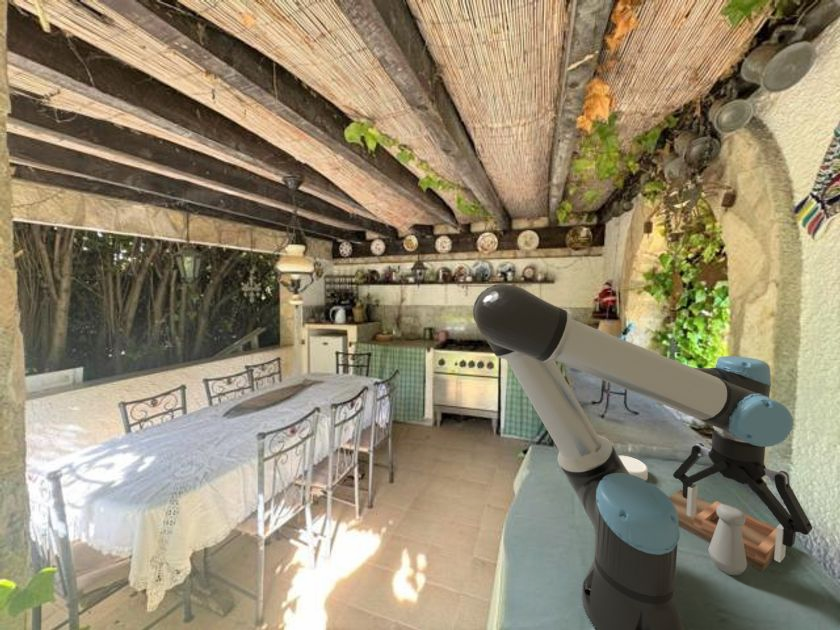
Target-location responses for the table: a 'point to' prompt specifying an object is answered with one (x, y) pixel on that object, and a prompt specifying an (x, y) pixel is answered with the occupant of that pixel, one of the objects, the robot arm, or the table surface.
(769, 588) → the table surface
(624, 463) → the white round container
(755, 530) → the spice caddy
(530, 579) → the table surface
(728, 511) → the salt shaker
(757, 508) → the table surface
